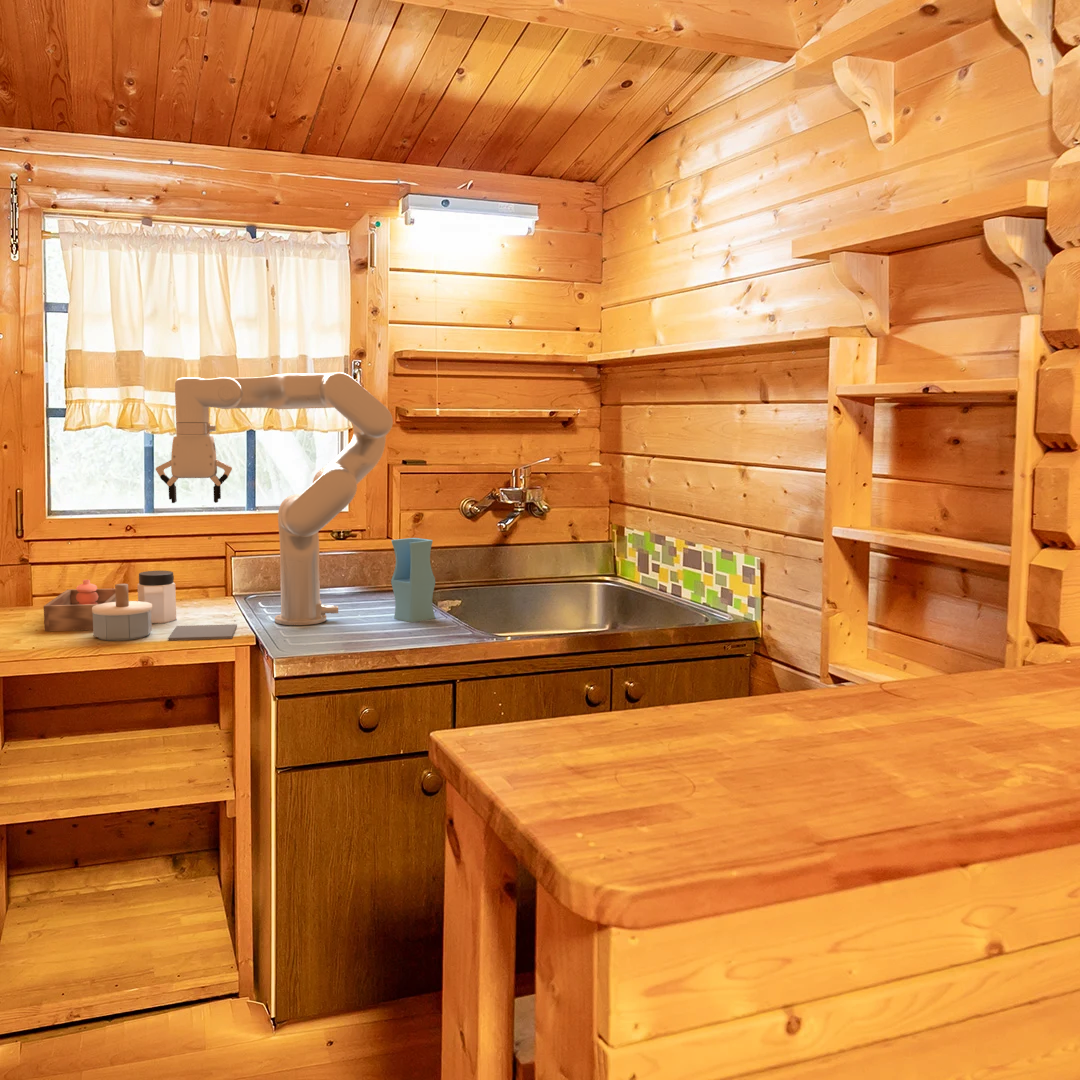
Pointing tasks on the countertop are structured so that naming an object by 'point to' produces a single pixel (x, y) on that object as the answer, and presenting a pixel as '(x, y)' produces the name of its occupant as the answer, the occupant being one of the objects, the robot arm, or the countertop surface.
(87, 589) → the pottery
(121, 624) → the bowl
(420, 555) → the vase
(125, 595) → the lid
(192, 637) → the mat
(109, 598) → the tray
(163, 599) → the jar
